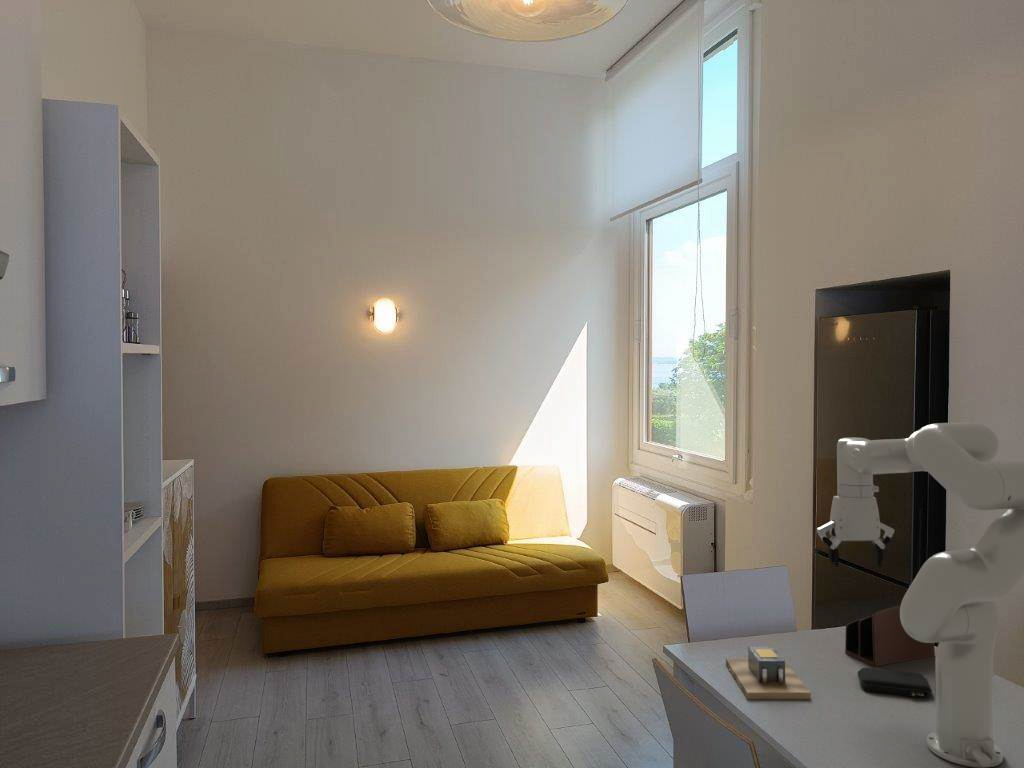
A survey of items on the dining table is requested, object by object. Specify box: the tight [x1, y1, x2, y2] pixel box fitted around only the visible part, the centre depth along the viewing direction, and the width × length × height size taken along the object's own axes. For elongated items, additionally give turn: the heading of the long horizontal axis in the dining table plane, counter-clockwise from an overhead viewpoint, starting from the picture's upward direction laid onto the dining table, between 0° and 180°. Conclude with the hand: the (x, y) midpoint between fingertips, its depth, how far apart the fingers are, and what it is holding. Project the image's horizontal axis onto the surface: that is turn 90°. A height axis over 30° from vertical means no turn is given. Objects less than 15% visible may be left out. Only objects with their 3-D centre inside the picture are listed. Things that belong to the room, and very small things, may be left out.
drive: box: [747, 646, 786, 683], centre depth 179 cm, size 9×6×5 cm, turn 178°
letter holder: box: [844, 605, 936, 668], centre depth 193 cm, size 10×20×14 cm, turn 110°
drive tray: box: [725, 657, 812, 700], centre depth 179 cm, size 20×14×5 cm
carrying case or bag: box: [857, 667, 933, 698], centre depth 174 cm, size 11×3×15 cm
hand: (855, 564), depth 175 cm, fingers open, 9 cm apart
